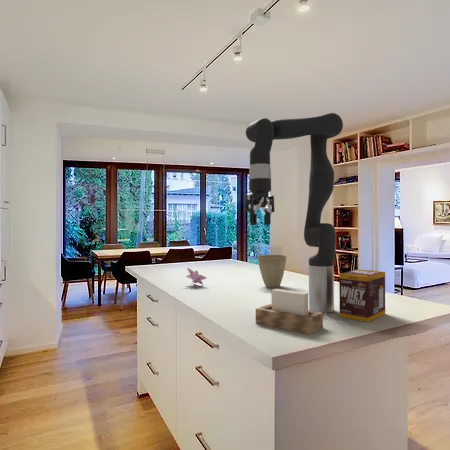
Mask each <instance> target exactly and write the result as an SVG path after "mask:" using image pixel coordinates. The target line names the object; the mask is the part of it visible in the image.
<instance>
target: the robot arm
mask: <svg viewBox="0 0 450 450" xmlns="http://www.w3.org/2000/svg"><path fill="white" fill-rule="evenodd" d="M343 128H344V122H343V119H342V117H341V116H340V115H339V114H337V113H335V112H329V113H325V114H322V115H319V116H312V117H303V118H302V117H301V118H300V117H299V118H281V119H274V120H270V119H269V118H265V117H262V118H260V119H257V120H256V121H253V122H251V123H249V125H247V127H246V128H245V136H246V138H247V139H248V140H249V141H250V142H252V143H254V146H253V147H252V148H250V152H249V170H248V171H249V172H248V174H249V175H248V177H249V178H248V179H249V183H248V185H249V186H248V187H249V192H250V193H247V194H245V209H244V210H245V212H246V213H248V214H249V224H250V225H251V226H257V225H258V224H257V223H258V221H257V219H258V218H257V213H258V210H259V209H261V210H262V211H263V213H264V217H263V218H264V219H263V220H264V221H263V222H264V223H263V224H264V226H267V225H269V226H270V225H271V222H272V221H271V219H272V218H271V217H272V216H271V215H272V213H275V196H274V195H269V192H271V191H272V171H271V150H272V145H273V141H274V140H291V139H298V138H301V137H305V136H309V137H310V138H309V139H310V169H309V170H310V171H309V181H308V201H307V210H306V217H305V222H304V228H303V229H304V230H303V239H304V242H305V244H306V245H307V246H308V247H313V248H318V251H317V253H316V254H315V255H313V256H310V257H309V258H308V310H310V311H316V312H322V313H323V314H325V313H327V314H328V313H333V312H334V311H335V277H334V276H335V273H334V272H335V269H334V267H335V266H334V263H335V262H334V261H335V259H336V252H337V251H336V249H337V232H336V229H335V226H334V225H333V224H331V223H327V222H322V223H321V220H322V214H323V213H322V212H323V210H324V208H325V206H326V204H327V202H328V201H329V199H330V197H331V196H332V193H333V191H334V187H335V186H334V185H335V171H334V167H333V165H332V163H331V161H330V159H329V157H328V154H327V153H328V152H327V146H328V144H327V143H328V140H329V139H332V138H335V137H337V136H339V135H340V133H341V132H342V131H343Z"/></svg>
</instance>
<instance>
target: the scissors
mask: <svg viewBox="0 0 450 450" xmlns="http://www.w3.org/2000/svg"><path fill="white" fill-rule="evenodd" d="M323 320H327V321H330V322H333V323H335V324H337V325H339V326H341V327H344V328H346V326H344V325H343V324H347V325H350V323H348V322H346V321H345V322H344V321H341V320H337V319H333V318H332V317H329V316H328V313H323ZM341 323H343V324H341ZM351 325H353V326H354V324H353V323H351Z"/></svg>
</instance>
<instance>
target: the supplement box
mask: <svg viewBox="0 0 450 450" xmlns="http://www.w3.org/2000/svg"><path fill="white" fill-rule="evenodd" d="M338 275H339V276H338V278H339V281H338V282H339V287H338V288H339V291H338V292H339V318H345V319H350V320H353V321H354V320H355V321H358V322H359V321H361V322H363V323H364V322H365V323H369V322H372V321H373V320H375V319H378V318H380V317H382V316H384V315H386V271H381V270H373V269H372V270H370V269H361V268H360V269H358V268H357V269H354V270H350V271H346V272H345V271H344V272H340V273H339V274H338Z"/></svg>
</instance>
